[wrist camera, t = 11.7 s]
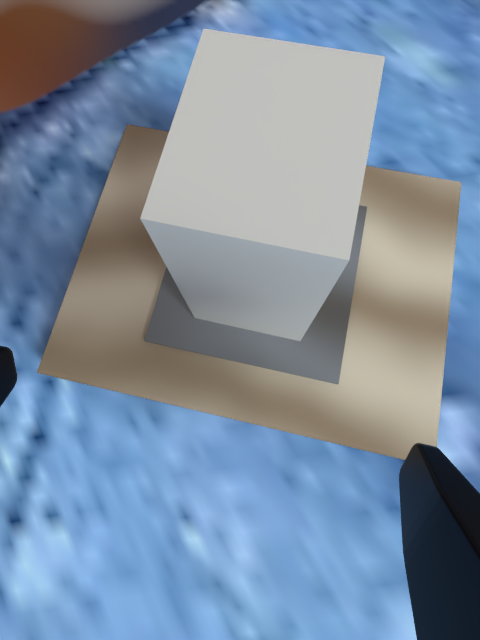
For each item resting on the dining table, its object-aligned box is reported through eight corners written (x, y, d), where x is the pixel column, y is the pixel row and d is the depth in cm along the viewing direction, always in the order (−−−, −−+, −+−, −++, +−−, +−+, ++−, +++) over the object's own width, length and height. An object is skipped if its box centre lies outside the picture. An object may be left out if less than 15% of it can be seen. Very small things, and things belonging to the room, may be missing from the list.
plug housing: (300, 341, 17) (349, 260, 9) (194, 318, 18) (140, 218, 9) (323, 225, 19) (385, 56, 10) (225, 206, 19) (203, 28, 11)
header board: (419, 463, 17) (478, 477, 13) (53, 376, 19) (-10, 361, 14) (446, 198, 21) (501, 137, 16) (134, 143, 22) (105, 72, 18)
